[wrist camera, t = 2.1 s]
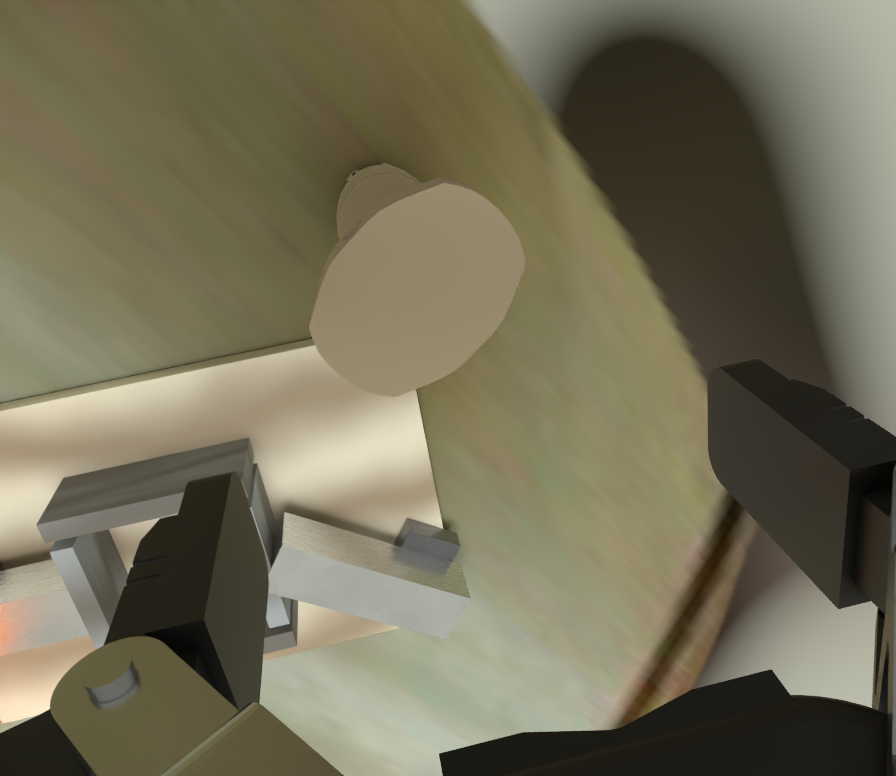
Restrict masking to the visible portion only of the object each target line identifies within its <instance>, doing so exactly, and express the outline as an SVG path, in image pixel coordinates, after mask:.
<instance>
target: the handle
mask: <svg viewBox="0 0 896 776" xmlns="http://www.w3.org/2000/svg"><path fill="white" fill-rule="evenodd" d="M336 224H337V232H338V238H339V242H338V243H337V244H336V245H335V247H334V248H333V250H332V251H331V252H330V254H329V256H328V258H327V261H326V264H325V266H324V269H323V272H322V275H321V278H320V281H319V284H318V287H317V291H316V294H315V298H314V302H313V305H312V309H311V313H310V317H309V329H310V332H311V336H312V339H313V341H314V344H315V346H316V348H317V350H318V352H319V354H320V355H321V356H322V357H323V359H324V360H325V361H326V363H327V364H328V365H329V366H330V367H331V368H332V369H333V370H334V371H335V372H336V373H337V374H339V375H340V376H341V377H342V378H344V379H345V380H347V381H348V382H350V383H351V384H353V385H354V386H356V387H358V388H360V389H362V390H364V391H367V392H369V393H373V394H377V395H381V396H389V397H397V396H400V395H402V394H405V393H407V392H410V391H413V390H415V389H418V388H420V387H423V386H425V385H428V384H430V383H432V382H435V381H437V380H439V379H441V378H443V377H445V376H447V375H449V374H450V373H452V372H454V371H455V370H456V369H457V368H458V367H460V366H461V365H462V364H463V363H464V362H466V361H467V360H468V359H469V358H470V357H471V356H472V355H473V354H474V353H475V352H476V351H477V350H478V349H479V348H480V347H481V346H482V345H483V344H484V343H485V342H486V341H487V340H488V339H489V338H490V337H491V335H492V334H493V333H494V332H495V330H496V329H497V328H498V327H499V326H500V324H501V323H502V321H503V319H504V317H505V315H506V313H507V312H508V310H509V307H510V305H511V302H512V300H513V297H514V295H515V292H516V290H517V287H518V284H519V282H520V279H521V276H522V274H523V271H524V268H525V266H526V263H525V257H524V251H523V248H522V245H521V241H520V238H519V237H518V235H517V233H516V231H515V230H514V228H513V226H512V224H511V223H510V222H509V221H508V220H507V218H506V217H505V216H504V215H503V213H502V212H501V211H500V210H499V209H498V208H497V207H495V206H494V205H493V204H492V203H491V202H490V201H488V200H487V199H486V198H485V197H484V196H483V195H481V194H480V193H479V192H477V191H475V190H474V189H472V188H470V187H469V186H467V185H465V184H462V183H459V182H456V181H452V180H448V179H442V178H435V179H432V180H430V181H427V182H424V183H420V182H419V181H418V180H417V179H416V178H415V177H414V176H412V175H411V174H409V173H407V172H406V171H404V170H402V169H400V168H397V167H395V166H393V165H391V164H388V163H381V164H380V165H373V166H370V167H366V168H364V169H362V170H360V171H359V170H355V171H353V172H352V173H351V174H350V175H349V176H348V178H347V180H346V184H345V186H344V188H343V190H342V192H341V195H340V198H339V201H338V207H337V213H336Z"/></svg>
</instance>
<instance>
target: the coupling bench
mask: <svg viewBox="0 0 896 776" xmlns="http://www.w3.org/2000/svg"><path fill="white" fill-rule="evenodd" d="M233 471H235V472H236V473H237V474H238V475H239V477H240V480H241V482H242V485H243V488H244V491H245V494H246V497H247V500H248V503H249V506H250V509H251V512H252V515H253V518H254V521H255V524H256V528H257V531H258V534H259V537H260V540H261V543H262V546H263V549H264V553H265V557H266V562H267V568H268V575H269V573H270V571H271V569H272V556H273V543H274V533H275V531H276V529H277V527H278V525H279V522H280V520H281V518H282V516H283V514H284V512H286V513H290V514H293V515H296V516H300V517H303V518H307V519H310V520H313V521H317V522H320V523H323V524H327V525H330V526H333V527H337V528H340V529H343V530H347V531H350V532H353V533H357V534H360V535H363V536H367V537H370V538H374V539H377V540H380V541H384V542H387V543H390V544H394V542H395V540H396V538H397V536H398V534H399V532H400V530H401V528H402V526H403V524H404V523H405V521H406V519H407V518H410V519H413V520H416V521H420V522H423V523H426V524H429V525H432V526H436V527H439V528H442V529H443V524H442V519H441V514H440V509H439V504H438V499H437V494H436V489H435V484H434V479H433V474H432V469H431V464H430V459H429V454H428V449H427V444H426V439H425V434H424V429H423V424H422V419H421V414H420V409H419V404H418V398H417V393H416V389H415V390H413V391H410V392H407V393H405V394H402V395H400V396H397V397H389V396H381V395H377V394H373V393H369V392H367V391H364V390H362V389H360V388H358V387H356V386H354V385H353V384H351V383H350V382H348V381H347V380H345V379H344V378H342V377H341V376H340V375H339V374H337V373H336V372H335V371H334V370H333V369H332V368H331V367H330V366H329V365H328V364H327V363H326V361H325V360H324V359H323V357H322V356H321V355H320V354H319V352H318V350H317V348H316V346H315V344H314V341H313V339H308V340H303V341H298V342H293V343H289V344H284V345H279V346H274V347H269V348H265V349H260V350H255V351H250V352H245V353H241V354H236V355H231V356H226V357H221V358H217V359H212V360H207V361H202V362H197V363H193V364H188V365H183V366H178V367H174V368H169V369H164V370H159V371H154V372H150V373H145V374H140V375H135V376H130V377H126V378H121V379H116V380H111V381H106V382H102V383H97V384H92V385H87V386H82V387H78V388H73V389H68V390H63V391H58V392H54V393H49V394H44V395H39V396H34V397H30V398H25V399H20V400H15V401H11V402H6V403H1V404H0V561H1V563H2V565H3V567H4V569H5V570H7V569H11V568H16V567H20V566H25V565H29V564H33V563H38V562H42V561H47V560H51V559H53V561H54V563H55V565H56V567H57V569H58V571H59V573H60V575H61V577H62V580H63V582H64V584H65V586H66V588H67V590H68V592H69V594H70V596H71V598H72V600H73V602H74V604H75V606H76V608H77V611H78V613H79V615H80V617H81V619H82V621H83V623H84V625H85V627H86V629H87V631H88V633H89V635H88V636H84V637H79V638H75V639H71V640H67V641H62V642H58V643H54V644H49V645H45V646H41V647H37V648H32V649H28V650H24V651H20V652H15V653H11V654H7V655H3V656H0V720H1V721H2V723H7V722H11V721H16V720H20V719H24V718H28V717H32V716H36V715H40V714H42V713H44V712H45V711H47V710H49V709H50V701H51V697H52V694H53V691H54V689H55V687H56V686H57V684H58V682H59V681H60V680H61V678H62V677H63V676H64V675H65V673H66V672H67V671H68V670H69V669H70V668H71V667H72V666H74V665H75V664H76V663H77V662H78V661H79V660H81V659H82V658H84V657H85V656H86V655H88V654H89V653H91V652H93V651H95V650H96V649H98V648H100V647H102V646H103V645H104V642H105V640H106V637H107V634H108V631H109V628H110V625H111V622H112V620H113V617H114V614H115V611H116V608H117V605H118V602H119V600H120V597H121V594H122V591H123V588H124V586H126V580H127V577H128V574H129V571H130V568H131V567H133V564H132V563H133V560H134V557H135V554H136V551H137V548H138V545H139V543H140V540H141V539H142V538H143V537H144V536H145V535H146V534H147V533H148V531H149V530H150V529H151V528H152V527H153V526H154V525H155V524H156V523H157V521H158V520H159V519H160V518H164V517H168V516H173V515H177V514H178V513H179V509H180V506H181V502H182V499H183V495H184V492H185V488H186V485H187V483H188V482H189V481H191V480H196V479H200V478H205V477H210V476H214V475H219V474H223V473H228V472H233ZM272 576H273V575H272ZM271 583H272V582H271ZM274 584H276V582H275V583H274ZM275 586H276V585H275ZM275 591H276V590H275ZM268 592H269V591H268ZM397 628H400V627H397V626H393V625H389V624H385V623H381V622H378V621H374V620H370V619H366V618H362V617H358V616H355V615H351V614H347V613H343V612H339V611H335V610H332V609H328V608H324V607H320V606H316V605H313V604H309V603H305V602H301V601H297V600H293V599H290V598H286V597H282V596H278V595H276V594H275V595H274V594H271V593H268V602H267V614H266V626H265V638H264V650H263V661H264V660H268V659H272V658H277V657H281V656H285V655H289V654H293V653H297V652H301V651H306V650H310V649H314V648H318V647H322V646H326V645H330V644H335V643H339V642H343V641H347V640H351V639H355V638H359V637H364V636H368V635H372V634H376V633H380V632H384V631H388V630H393V629H397Z"/></svg>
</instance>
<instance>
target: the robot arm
mask: <svg viewBox="0 0 896 776" xmlns="http://www.w3.org/2000/svg"><path fill="white" fill-rule="evenodd" d="M708 451H709V457H710V461H711V465H712V468H713V470H714V473H715V475H716V477H717V478H718V480H719V482H720V483H721V484H722V485H723V486H724V487H725V488H726V489H727V491H728V492H729V493H730V494H731V495H732V496H733V497H734V498H735V499H736V500H737V501H738V502H739V503H740V504H741V505H742V507H743V508H744V509H745V510H746V511H747V512H748V513H749V514H750V515H751V516H752V517H753V518H754V519H755V520H756V522H757V523H758V524H759V525H760V526H761V527H762V528H763V529H764V530H765V531H766V532H767V533H768V534H769V535H770V536H771V538H772V539H773V540H774V541H775V542H776V543H777V544H778V545H779V546H780V547H781V548H782V549H783V550H784V551H785V553H786V554H787V555H788V556H789V557H790V558H791V559H792V560H793V561H794V562H795V563H796V564H797V565H798V566H799V568H800V569H801V570H802V571H803V572H804V573H805V574H806V575H807V576H808V577H809V578H810V579H811V580H812V581H813V583H814V584H815V585H816V586H817V587H818V588H819V589H820V590H821V591H822V592H823V593H824V594H825V595H826V596H827V597H828V599H829V600H830V601H831V602H832V603H833V604H834V605H835V606H836V607H837V608H838V609H841V608H845V607H849V606H852V605H856V604H861V603H865V602H869V601H872V602H873V603H874V604H875V605H876V606H877V607H878V609H877V618H876V627H875V651H874V674H873V696H872V708H870V707H866V706H863V705H859V704H856V703H851V702H848V701H844V700H838V699H832V698H826V697H819V696H806V695H790V694H789V693H788V692H787V690H786V689H785V687H784V686H783V685H782V683H781V682H780V681H779V679H778V678H777V676H776V675H775V674H774V672H773V671H772V670H767V671H763V672H759V673H755V674H751V675H748V676H744V677H740V678H736V679H732V680H728V681H724V682H720V683H716V684H712V685H709V686H704V687H700V688H696V689H692V690H690V691H688V692H687V693H685V694H683V695H681V696H679V697H677V698H675V699H674V700H672V701H670V702H668V703H666V704H664V705H662V706H661V707H659V708H657V709H655V710H653V711H651V712H649V713H647V714H646V715H644V716H642V717H640V718H638V719H636V720H634V721H633V722H631V723H629V724H627V725H625V726H623V727H621V728H618V729H614V730H598V731H560V732H523V733H519V734H515V735H511V736H507V737H503V738H499V739H495V740H491V741H487V742H483V743H479V744H475V745H472V746H468V747H464V748H460V749H456V750H452V751H448V752H444V753H440V754H439V756H440V762H441V767H442V773H443V776H896V437H895V436H894V435H892V434H891V433H889V432H888V431H886V430H885V429H883V428H882V427H880V426H879V425H877V424H876V423H874V422H873V421H871V420H870V419H865V418H864V415H862V414H861V413H860V412H858V411H856V410H855V409H854V408H852V407H850V406H849V407H847V406H846V403H844V402H843V401H842V400H840V399H838V398H837V397H836V396H834V395H833V394H831V393H829V392H828V391H827V390H825V389H823V388H820V387H817V386H814V385H810V384H808V383H805V382H801V381H799V380H795V379H792V380H789V379H788V378H786V377H785V376H783V375H782V374H780V373H779V372H778V371H776V370H775V369H773V368H772V367H770V366H769V365H768V364H766V363H765V362H763V361H762V360H760V359H750V360H746V361H741V362H737V363H732V364H728V365H723V366H718V367H714V368H712V369H711V371H710V373H709V376H708ZM132 564H133V567H131V568H130V571H129V574H128V577H127V580H126V586H124V588H123V591H122V594H121V597H120V600H119V602H118V605H117V608H116V611H115V614H114V617H113V620H112V622H111V625H110V628H109V631H108V634H107V637H106V640H105V642H104V645H103V646H102V647H100V648H98V649H96V650H95V651H93V652H91V653H89V654H88V655H86V656H85V657H84V658H82V659H81V660H79V661H78V662H77V663H76V664H75V665H74V666H72V667H71V668H70V669H69V670H68V671H67V672H66V673H65V675H64V676H63V677H62V678H61V680H60V681H59V682H58V684H57V686H56V687H55V689H54V691H53V694H52V697H51V701H50V709H49V710H47V711H45V712H44V713H42V714H40V715H38V716H36V717H34V718H32V719H30V720H28V721H26V722H23V723H21V724H19V725H17V726H15V727H13V728H11V729H9V730H6V731H4V732H2V733H0V776H344V775H343V774H341V773H340V772H339V771H338V770H337V769H336V768H334V767H333V766H332V765H331V764H330V763H329V762H327V761H326V760H325V759H324V758H323V757H322V756H321V755H319V754H318V753H317V752H316V751H315V750H314V749H312V748H311V747H310V746H309V745H308V744H307V743H305V742H304V741H303V740H302V739H301V738H300V737H298V736H297V735H296V734H295V733H294V732H293V731H291V730H290V729H289V728H288V727H287V726H286V725H285V724H283V723H282V722H281V721H280V720H279V719H278V718H276V717H275V716H274V715H273V714H272V713H271V712H269V711H268V710H267V709H266V708H264V707H263V706H262V705H260V704H259V699H260V687H261V675H262V662H263V650H264V638H265V626H266V614H267V602H268V590H269V578H268V568H267V562H266V557H265V553H264V549H263V546H262V543H261V540H260V537H259V534H258V531H257V528H256V524H255V521H254V518H253V515H252V512H251V509H250V506H249V503H248V500H247V497H246V494H245V491H244V488H243V485H242V482H241V480H240V477H239V475H238V474H237V473H236V472H235V471H233V472H228V473H223V474H219V475H214V476H210V477H205V478H200V479H196V480H191V481H189V482H188V483H187V485H186V488H185V492H184V495H183V499H182V502H181V506H180V509H179V513H178V514H177V515H173V516H168V517H164V518H160V519H159V520H158V521H157V523H156V524H155V525H154V526H153V527H152V528H151V529H150V530H149V531H148V533H147V534H146V535H145V536H144V537H143V538H142V539H141V540H140V543H139V545H138V548H137V551H136V554H135V557H134V560H133V563H132Z"/></svg>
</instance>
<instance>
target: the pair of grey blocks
mask: <svg viewBox="0 0 896 776" xmlns="http://www.w3.org/2000/svg"><path fill="white" fill-rule="evenodd" d="M459 548H460V543H459V540H458V536H457V533H455V532H452V531H448V530H445V529H442V528H439V527H436V526H432V525H429V524H426V523H423V522H420V521H416V520H413V519H410V518H407V519H406V521H405V523H404V524H403V526H402V528H401V530H400V532H399V534H398V536H397V538H396V540H395V542H394V544H390V543H387V542H384V541H380V540H377V539H374V538H370V537H367V536H363V535H360V534H357V533H353V532H350V531H347V530H343V529H340V528H337V527H333V526H330V525H327V524H323V523H320V522H317V521H313V520H310V519H307V518H303V517H300V516H296V515H293V514H290V513H286V512H284V514H283V516H282V518H281V520H280V522H279V525H278V527H277V529H276V531H275V533H274V543H273V556H272V569H271V571H270V573H269V575H268V578H269V590H268V591H269V592H268V593H271V594H274V595H275V594H276V595H278V596H282V597H286V598H290V599H293V600H297V601H301V602H305V603H309V604H313V605H316V606H320V607H324V608H328V609H332V610H335V611H339V612H343V613H347V614H351V615H355V616H358V617H362V618H366V619H370V620H374V621H378V622H381V623H385V624H389V625H393V626H397V627H400V628H404V629H408V630H412V631H416V632H420V633H423V634H427V635H431V636H435V637H439V638H442V639H446V640H447V639H448V637H449V635H450V633H451V632H452V630H453V628H454V626H455V625H456V623H457V621H458V619H459V618H460V616H461V614H462V612H463V611H464V609H465V607H466V605H467V604H468V602H469V600H470V595H469V592H468V588H467V585H466V581H465V578H464V574H463V571H462V567H461V564H457V563H454V562H452V560H453V558H454V557H455V555H456V553H457V551H458V549H459ZM272 575H273V576H272ZM271 582H272V583H271ZM275 582H276V584H274V583H275ZM275 585H276V586H275ZM275 590H276V591H275ZM88 635H89V633H88V631H87V629H86V627H85V625H84V623H83V621H82V619H81V617H80V615H79V613H78V611H77V608H76V606H75V604H74V602H73V600H72V598H71V596H70V594H69V592H68V590H67V588H66V586H65V584H64V582H63V580H62V577H61V575H60V573H59V571H58V569H57V567H56V565H55V563H54V561H53V559H51V560H47V561H42V562H38V563H33V564H29V565H25V566H20V567H16V568H11V569H7V570H5V569H4V567H3V565H2V563H1V561H0V656H3V655H7V654H11V653H15V652H20V651H24V650H28V649H32V648H37V647H41V646H45V645H49V644H54V643H58V642H62V641H67V640H71V639H75V638H79V637H84V636H88Z"/></svg>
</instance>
